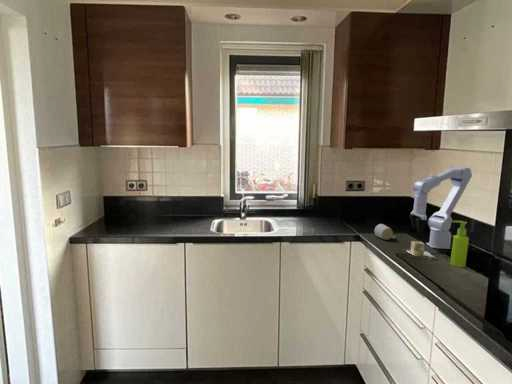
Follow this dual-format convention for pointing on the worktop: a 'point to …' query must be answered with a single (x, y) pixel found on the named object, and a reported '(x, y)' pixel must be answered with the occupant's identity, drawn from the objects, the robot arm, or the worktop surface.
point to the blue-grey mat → (424, 254)
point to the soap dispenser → (459, 246)
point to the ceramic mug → (383, 232)
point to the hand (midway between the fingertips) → (417, 230)
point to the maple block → (417, 248)
